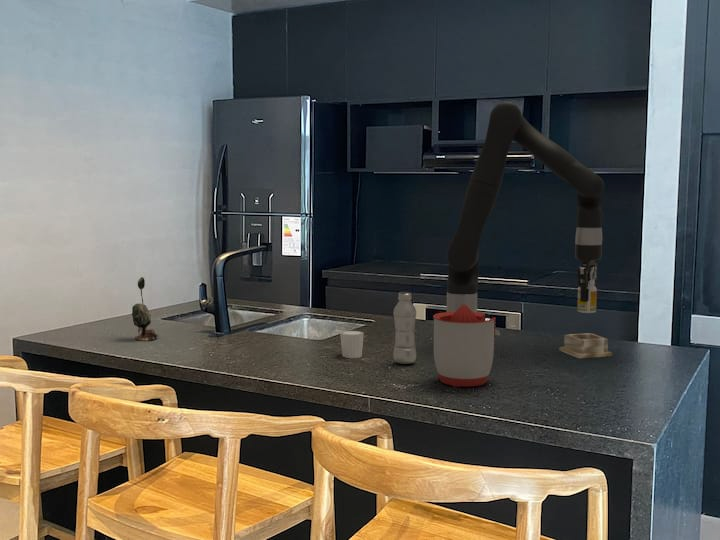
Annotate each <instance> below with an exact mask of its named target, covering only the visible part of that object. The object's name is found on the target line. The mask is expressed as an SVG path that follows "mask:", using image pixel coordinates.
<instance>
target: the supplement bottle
mask: <svg viewBox="0 0 720 540" xmlns="http://www.w3.org/2000/svg"><path fill="white" fill-rule="evenodd" d="M583 283H585V281H583ZM594 283H595V279H592V281H591V282H590V284H589V299H588V301H587V302H582V301H580V291H581V289H580V287H578V286H577V308H576V309H577V310H576V311H577V312H579V313H582V314H583V313H584V314H593V313H596V312H597V301H598V300H597V297H598V295H597V293H598V291H597V287H596V286H594Z"/></svg>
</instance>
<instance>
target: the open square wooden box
mask: <svg viewBox="0 0 720 540" xmlns="http://www.w3.org/2000/svg"><path fill="white" fill-rule="evenodd" d="M608 345H609V339H608V338H607V337H604V336H600V335H597V334H595V333H593V332H590V333H589V332H588V333H573V334H572V333H569V334H564V346H559V348H558V349H559V352H563V353H565V354H567V355H568V356H571V357H573V358H577V359H590V358H606V357H607V356H608V357H613V352H612V351H608V348H609V347H608Z"/></svg>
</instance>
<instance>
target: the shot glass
mask: <svg viewBox="0 0 720 540" xmlns="http://www.w3.org/2000/svg"><path fill="white" fill-rule="evenodd" d="M339 334H340V343H341V344H340V346H341V354H342V357H343V358H344V357H345V359H359V358H361V357H362V355H363V343H364V332H363V331H360V330H346V331H345V330H343V331H341V332H339Z"/></svg>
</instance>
